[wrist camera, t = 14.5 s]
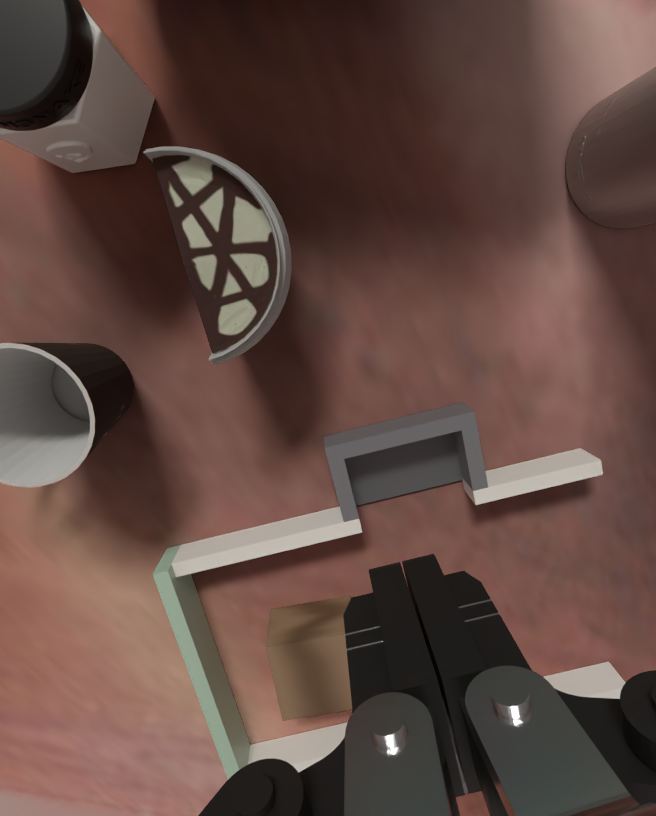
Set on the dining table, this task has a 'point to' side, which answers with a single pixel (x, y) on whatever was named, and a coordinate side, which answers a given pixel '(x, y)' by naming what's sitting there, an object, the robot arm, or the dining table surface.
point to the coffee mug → (56, 407)
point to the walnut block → (310, 658)
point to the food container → (226, 246)
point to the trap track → (355, 484)
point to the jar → (68, 88)
